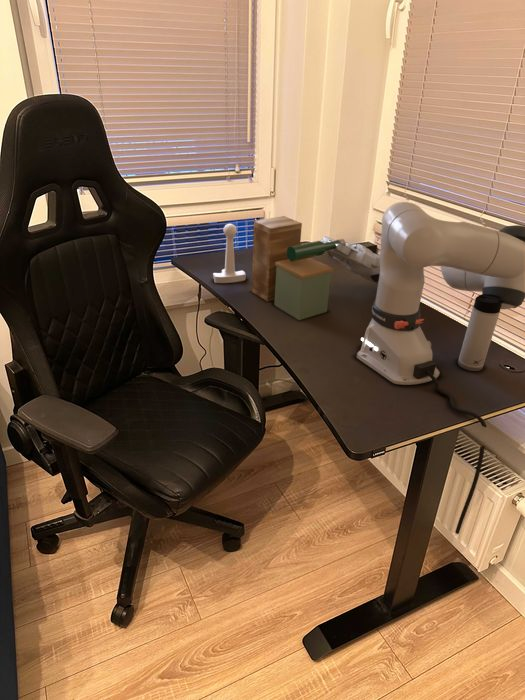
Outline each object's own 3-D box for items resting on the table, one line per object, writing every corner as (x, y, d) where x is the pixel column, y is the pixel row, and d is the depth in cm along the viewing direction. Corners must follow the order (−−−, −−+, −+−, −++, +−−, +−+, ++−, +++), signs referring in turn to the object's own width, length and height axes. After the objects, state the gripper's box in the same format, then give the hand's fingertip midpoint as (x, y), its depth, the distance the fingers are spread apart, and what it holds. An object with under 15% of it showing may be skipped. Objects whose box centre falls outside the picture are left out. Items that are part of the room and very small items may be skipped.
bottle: (295, 263, 147) (296, 249, 145) (286, 258, 150) (287, 244, 148) (346, 252, 157) (348, 238, 155) (336, 247, 161) (338, 234, 158)
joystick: (215, 283, 174) (215, 226, 164) (210, 275, 180) (210, 220, 170) (246, 281, 177) (248, 224, 167) (240, 273, 183) (241, 218, 173)
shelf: (296, 293, 169) (302, 223, 157) (267, 301, 163) (271, 228, 151) (280, 284, 175) (284, 216, 163) (251, 291, 169) (253, 220, 157)
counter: (328, 311, 158) (333, 268, 151) (298, 320, 152) (302, 275, 145) (301, 297, 167) (305, 255, 160) (272, 305, 161) (275, 261, 154)
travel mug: (479, 374, 130) (501, 304, 119) (454, 366, 133) (473, 296, 123) (486, 365, 134) (508, 296, 124) (462, 356, 137) (481, 288, 127)
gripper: (376, 277, 159) (351, 263, 149) (332, 258, 173) (306, 244, 163) (385, 259, 157) (361, 244, 148) (340, 241, 172) (315, 226, 162)
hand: (332, 243), depth 155 cm, fingers closed on bottle, 2 cm apart
